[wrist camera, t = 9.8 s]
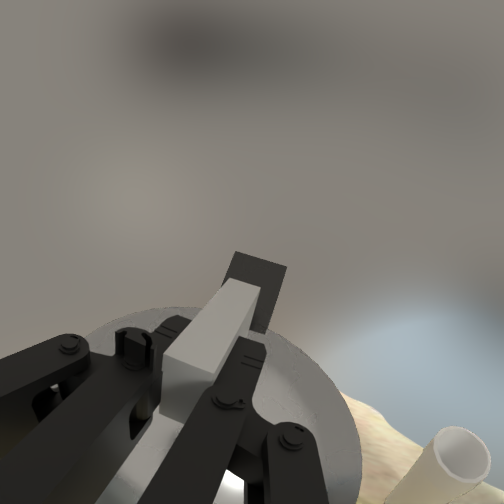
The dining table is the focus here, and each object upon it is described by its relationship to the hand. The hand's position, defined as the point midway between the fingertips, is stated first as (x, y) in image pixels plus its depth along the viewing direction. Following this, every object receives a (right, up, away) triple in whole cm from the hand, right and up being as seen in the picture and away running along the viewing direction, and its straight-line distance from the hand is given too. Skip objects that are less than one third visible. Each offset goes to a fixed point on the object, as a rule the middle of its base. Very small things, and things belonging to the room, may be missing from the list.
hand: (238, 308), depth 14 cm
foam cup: (+21, -31, +9) cm, 39 cm away
